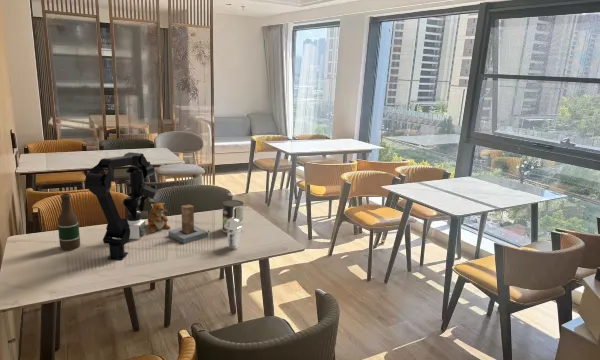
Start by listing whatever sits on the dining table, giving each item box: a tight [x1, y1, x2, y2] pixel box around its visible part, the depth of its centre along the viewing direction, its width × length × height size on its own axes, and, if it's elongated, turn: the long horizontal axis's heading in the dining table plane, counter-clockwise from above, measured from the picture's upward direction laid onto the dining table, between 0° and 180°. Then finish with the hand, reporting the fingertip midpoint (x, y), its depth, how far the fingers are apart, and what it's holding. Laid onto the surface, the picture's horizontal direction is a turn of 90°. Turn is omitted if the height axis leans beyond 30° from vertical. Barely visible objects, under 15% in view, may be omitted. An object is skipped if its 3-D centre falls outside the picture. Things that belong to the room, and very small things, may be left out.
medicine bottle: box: [126, 210, 146, 241], centre depth 197 cm, size 7×7×12 cm
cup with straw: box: [224, 205, 246, 250], centre depth 189 cm, size 8×9×20 cm
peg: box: [180, 204, 195, 235], centre depth 199 cm, size 4×4×15 cm
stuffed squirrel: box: [147, 202, 171, 234], centre depth 209 cm, size 10×14×13 cm
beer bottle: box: [57, 193, 81, 251], centre depth 181 cm, size 8×8×24 cm
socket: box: [168, 225, 209, 245], centre depth 201 cm, size 13×13×2 cm
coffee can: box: [221, 199, 245, 234], centre depth 210 cm, size 10×10×14 cm
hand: (138, 214), depth 189 cm, fingers open, 9 cm apart
